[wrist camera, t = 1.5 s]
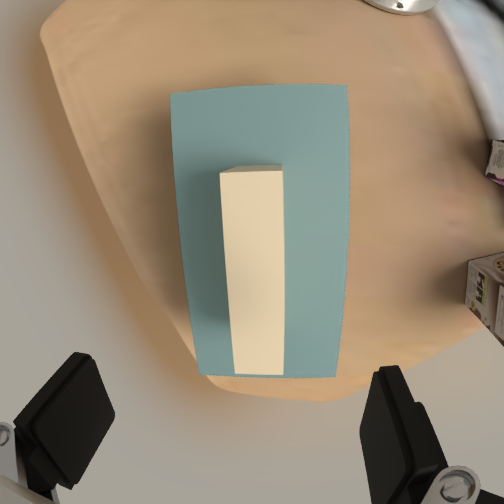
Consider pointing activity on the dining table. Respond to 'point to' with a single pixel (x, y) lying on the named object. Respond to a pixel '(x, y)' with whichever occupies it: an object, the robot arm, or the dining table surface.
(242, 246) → the lid
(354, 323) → the dining table surface
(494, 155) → the candy bar box
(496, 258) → the coffee box
